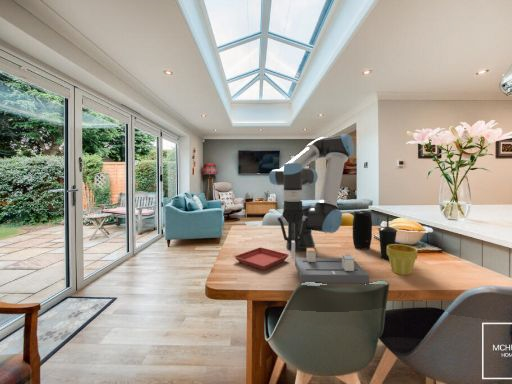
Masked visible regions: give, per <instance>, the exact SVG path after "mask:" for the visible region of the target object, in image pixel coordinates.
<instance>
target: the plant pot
mask: <svg viewBox="0 0 512 384" xmlns="http://www.w3.org/2000/svg"><path fill="white" fill-rule="evenodd" d="M418 253H419V252H418V249H417V248H416V247H414V246H411V245H406V244H400V243H399V244H398V243H395V244H391V245H388V246H387V255H388V256H389V260H388V261H389V263H390V268H391V269H390V270H391V271H392V272H393V273H394V274H397V275H402V276H409V275H411V274H412V271H413V268H414V265H415V261H416V260H417V259H418V255H419V254H418Z"/></svg>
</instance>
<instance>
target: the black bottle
mask: <svg viewBox="0 0 512 384" xmlns="http://www.w3.org/2000/svg"><path fill="white" fill-rule="evenodd" d="M389 218H390V215H386V226H382V227H379V228H378V235H379V236H378V237H379V247H380V258H381V259H382V260H384V261H390V260H389V256H388V255H387V246H388V245H391V244H396V239H397V232H398V230H397V229H396V228H394V227H391V226H389V223H390V221H389V220H390V219H389Z"/></svg>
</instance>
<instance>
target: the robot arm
mask: <svg viewBox="0 0 512 384" xmlns="http://www.w3.org/2000/svg"><path fill="white" fill-rule="evenodd" d="M354 153H355V145H354V140H353V137H352V136H351V135H350V134H349V133H341V134H335V135H330V136H329V135H328V136H321V137H319V138H317V139H315V140H312V141H311V142H310V143H308V144H306V146H305V147H304V148H303V150H302V151H301V152H299V154H297V155H296V156H295V157H293V158H292V159H290V160H289V161H288V162H286V163H284V165H283V166H281V167H280V168H276V169H272V170H271V171H270V172H269V175H268V180H269V182H270V183H271V185H274V186H283V200H284V201H283V212H282V215H280V216H277V221H278V222H279V224H280V227H281V232H282V235H283V239H284V241H286V244H285V245H286V246H285V247H286V248H287V249H288V250H289V251H290V256H291V259H295V258H296V252H306V248H314V249H316V242H315V241H314V238H313V234H312V232H321V233H325V234H327V233H329V234H333V233H336V232H337V231H338V230H339V228H341V225H342V221H343V217H342V216H343V213H342V211H341V210H340V207H339V206H338V198H339V192H340V187H341V183H342V177H343V172H344V167H345V163H347V162H348V160H349V156H350V157H351V156H353V155H354ZM322 158H325V159H326V160H327V161H326V162H327V163H326V167H325V172H324V176H323V177H324V178H323V183H322V187H321V191H320V196H319V200H318V201H317V202H316V203H315V205H314V207H313V206H312V204H303V201H302V200H303V186H311V185H314V184H315V183H317V181H318V173H317V171H316V170H315V169H313V168H310V167H307V166H308V165H310V164H311V162H314V161H317V160H318V159H322ZM306 167H307V168H306ZM284 219H285V221H286V222H287V225H288V226H287V231H286V229H285V223H284ZM287 233H288V234H287Z"/></svg>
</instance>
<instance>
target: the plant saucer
mask: <svg viewBox="0 0 512 384" xmlns="http://www.w3.org/2000/svg"><path fill="white" fill-rule="evenodd" d="M288 257H289V254H288V253H286V252H285V253H284V252H280V251H276V250H272V249H269V248H268V249H267V248H265V247H256V248H254V249H252V250H248V251H245V252H244V253H243V252H242V253H240V254H237V255H234V258H235V259H236V260H237V261H238V262H239V263H240V262H241V263H240V264H243V263H244V264H243V265H246V264H247V265H246V266H249V265H250V266H249V267H252V266H253V267H252V268H255V267H256V268H255V269H258V270H261V271H265V270H268V269H269V268H273V267H274V266H276V265H278V264H280V263H283V262H284V261H285V260H286V259H288Z"/></svg>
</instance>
